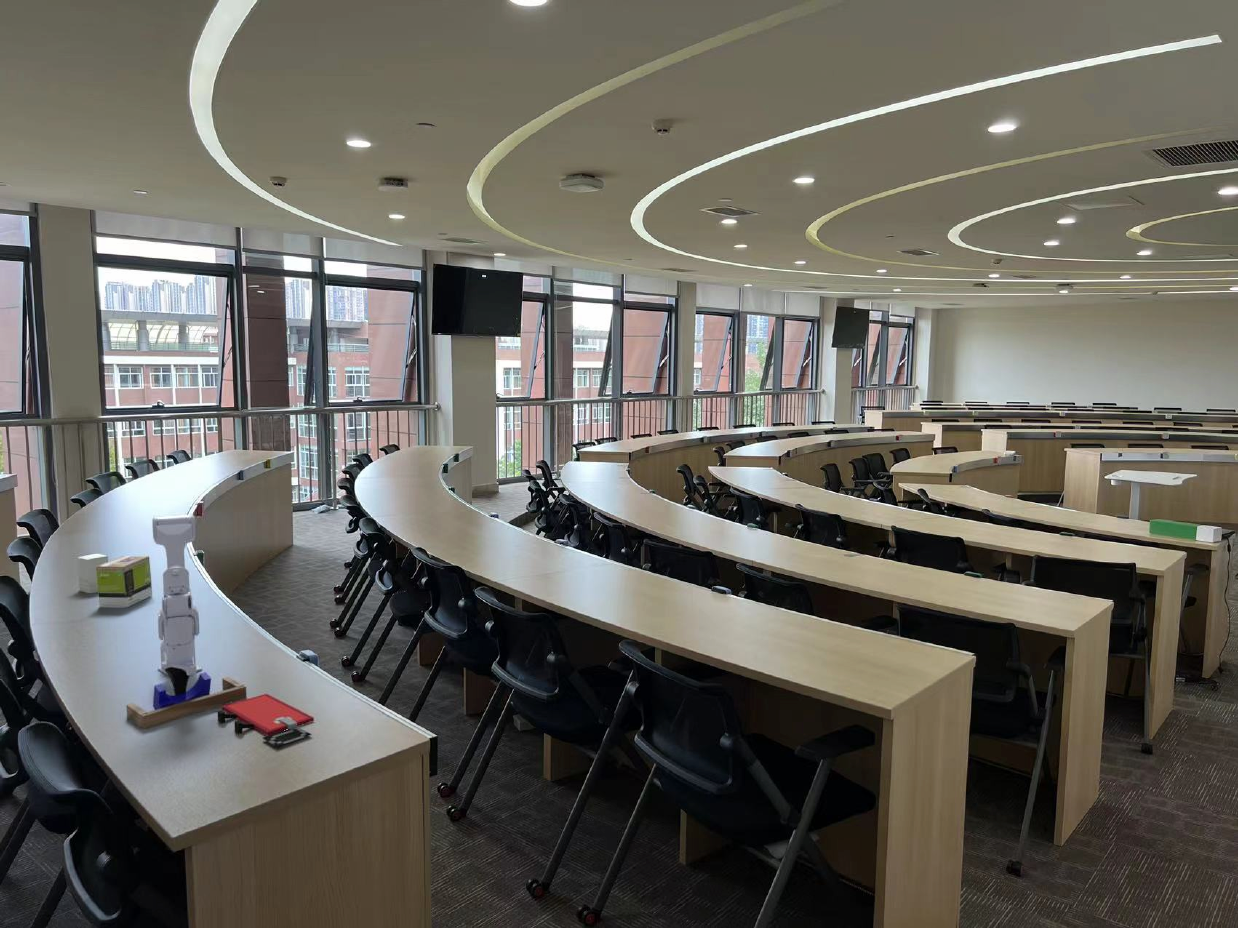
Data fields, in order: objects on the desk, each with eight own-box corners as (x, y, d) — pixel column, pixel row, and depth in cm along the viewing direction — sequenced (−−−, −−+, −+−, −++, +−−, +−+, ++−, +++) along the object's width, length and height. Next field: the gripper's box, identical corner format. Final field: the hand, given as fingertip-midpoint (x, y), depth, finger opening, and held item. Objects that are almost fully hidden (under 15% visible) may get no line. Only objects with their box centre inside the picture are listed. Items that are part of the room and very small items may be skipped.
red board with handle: (268, 753, 180) (331, 732, 192) (268, 740, 180) (330, 720, 191) (206, 716, 199) (266, 699, 211) (205, 704, 199) (266, 688, 211)
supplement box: (110, 589, 305) (108, 555, 303) (89, 594, 298) (86, 559, 297) (100, 586, 308) (98, 553, 307) (78, 590, 302) (76, 556, 301)
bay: (127, 716, 197) (126, 704, 197) (228, 687, 215) (228, 676, 215) (143, 728, 191) (142, 716, 190) (246, 697, 209) (246, 686, 209)
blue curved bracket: (160, 716, 198) (162, 695, 196) (152, 706, 201) (154, 685, 199) (211, 701, 207) (213, 681, 206) (203, 692, 210) (205, 672, 208)
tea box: (125, 595, 297) (123, 555, 295) (153, 596, 297) (151, 555, 295) (97, 607, 282) (95, 565, 281) (126, 608, 282) (124, 565, 280)
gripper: (149, 638, 205) (151, 691, 207) (173, 653, 196) (176, 708, 198) (179, 632, 210) (181, 683, 212) (204, 646, 201) (206, 699, 203)
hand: (180, 695), depth 205 cm, fingers closed, pressing on blue curved bracket
